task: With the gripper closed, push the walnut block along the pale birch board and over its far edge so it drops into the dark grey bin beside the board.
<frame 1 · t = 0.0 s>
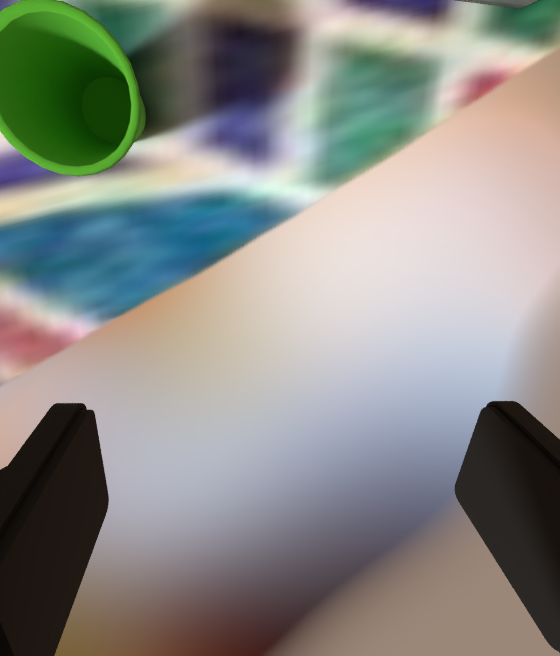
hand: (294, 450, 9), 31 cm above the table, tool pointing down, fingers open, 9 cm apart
cup: (115, 112, 33), on the table
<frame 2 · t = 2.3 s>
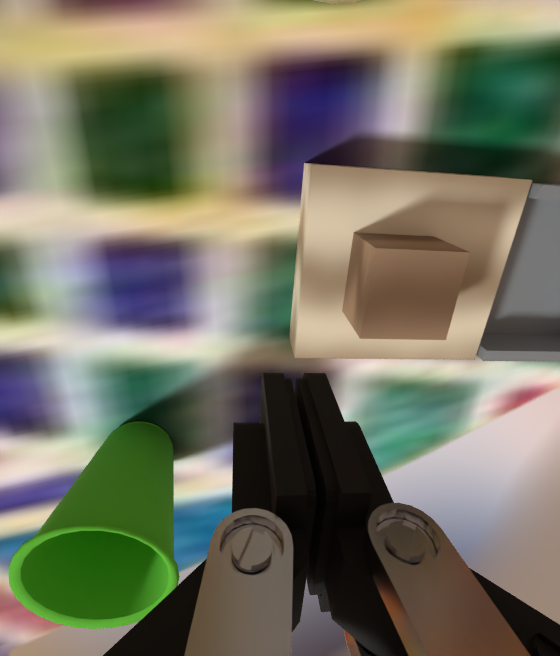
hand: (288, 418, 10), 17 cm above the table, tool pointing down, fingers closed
board: (387, 262, 26), on the table
bin: (537, 268, 28), on the table
block: (386, 274, 24), point 3 cm above the table, touching board
cup: (141, 443, 31), on the table
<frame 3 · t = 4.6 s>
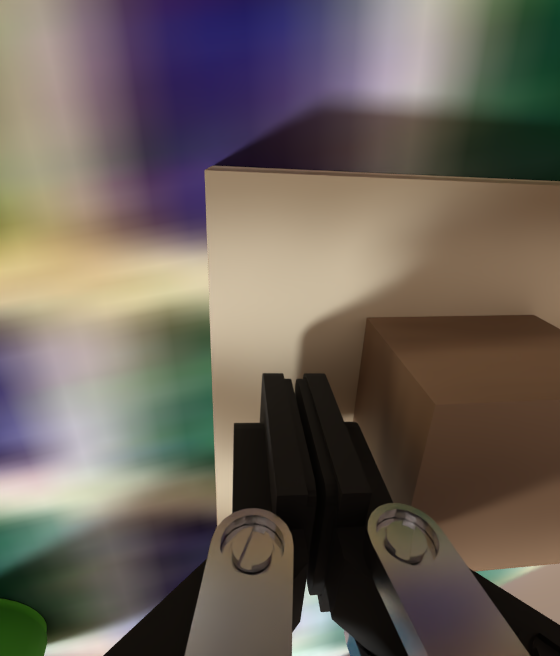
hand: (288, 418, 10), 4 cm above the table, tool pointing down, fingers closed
board: (390, 344, 14), on the table
block: (434, 390, 12), point 3 cm above the table, touching board, gripper
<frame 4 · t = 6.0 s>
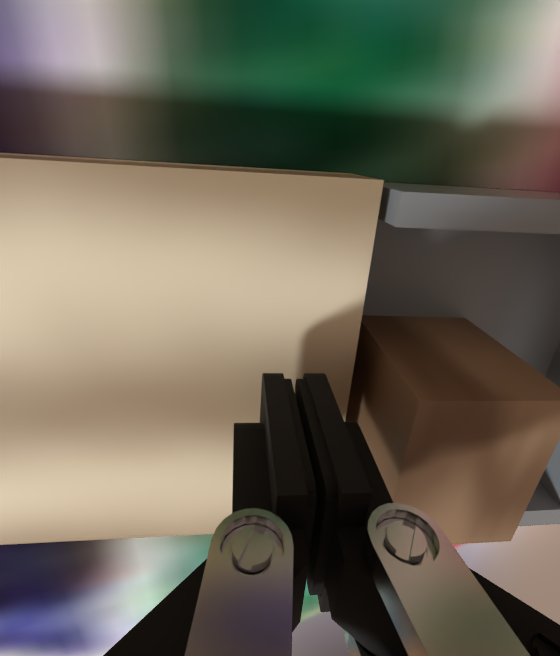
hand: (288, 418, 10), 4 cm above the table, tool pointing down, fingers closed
board: (149, 345, 13), on the table
bin: (452, 346, 15), on the table
block: (367, 419, 12), point 3 cm above the table, tilted 90°, touching bin
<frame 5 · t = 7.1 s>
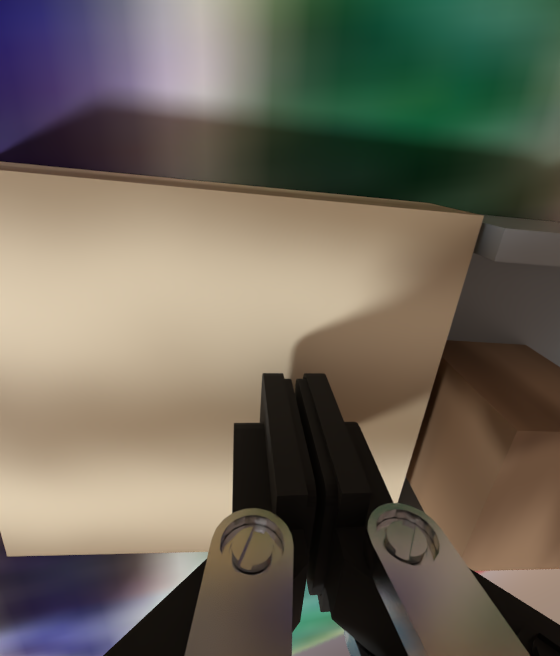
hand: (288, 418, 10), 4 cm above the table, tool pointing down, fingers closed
board: (217, 360, 14), on the table
bin: (507, 371, 15), on the table
block: (437, 442, 12), point 3 cm above the table, tilted 90°, touching bin
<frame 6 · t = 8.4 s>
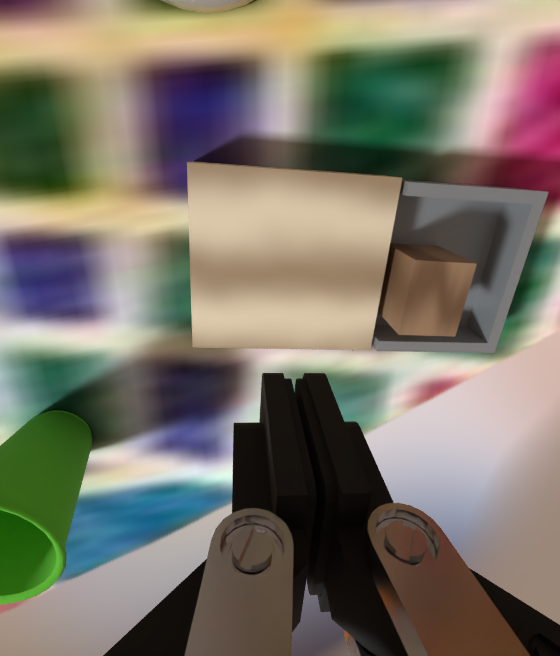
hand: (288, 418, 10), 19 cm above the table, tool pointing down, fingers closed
board: (285, 257, 28), on the table
bin: (433, 263, 29), on the table
block: (392, 286, 26), point 3 cm above the table, tilted 90°, touching bin
cup: (62, 432, 32), on the table
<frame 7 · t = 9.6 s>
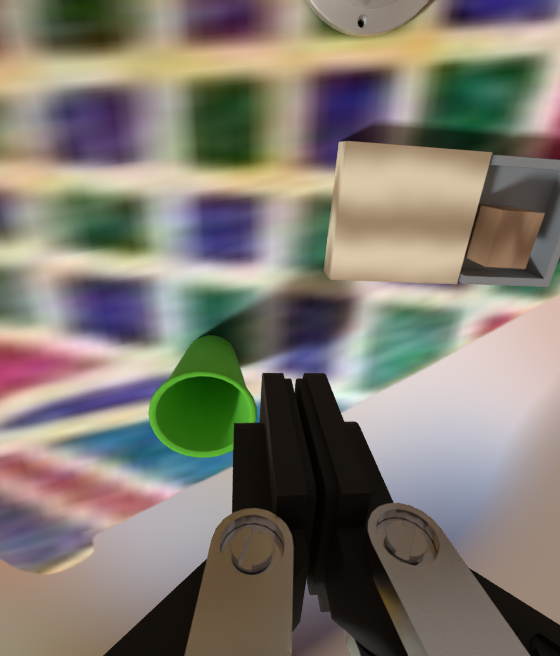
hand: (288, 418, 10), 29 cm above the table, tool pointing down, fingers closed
board: (395, 214, 37), on the table
bin: (502, 220, 39), on the table
block: (477, 233, 36), point 3 cm above the table, tilted 90°, touching bin
cup: (211, 353, 42), on the table
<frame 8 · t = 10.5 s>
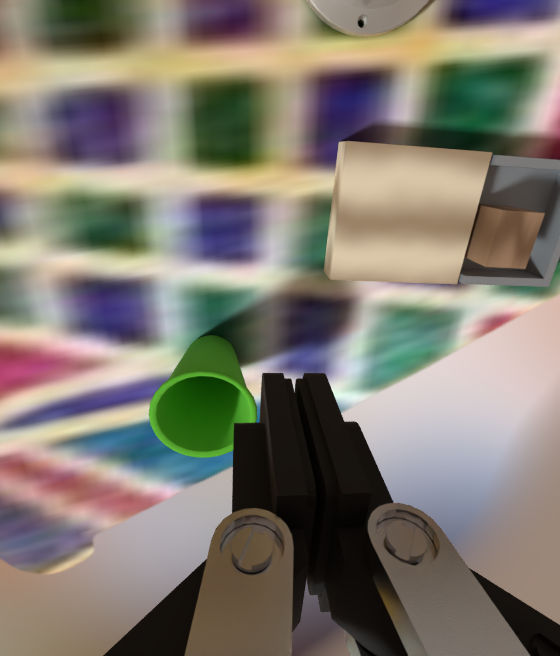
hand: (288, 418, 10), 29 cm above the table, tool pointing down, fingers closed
board: (395, 214, 37), on the table
bin: (502, 220, 39), on the table
block: (477, 233, 36), point 3 cm above the table, tilted 90°, touching bin
cup: (211, 354, 42), on the table
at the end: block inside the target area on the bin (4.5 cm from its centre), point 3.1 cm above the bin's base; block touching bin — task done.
